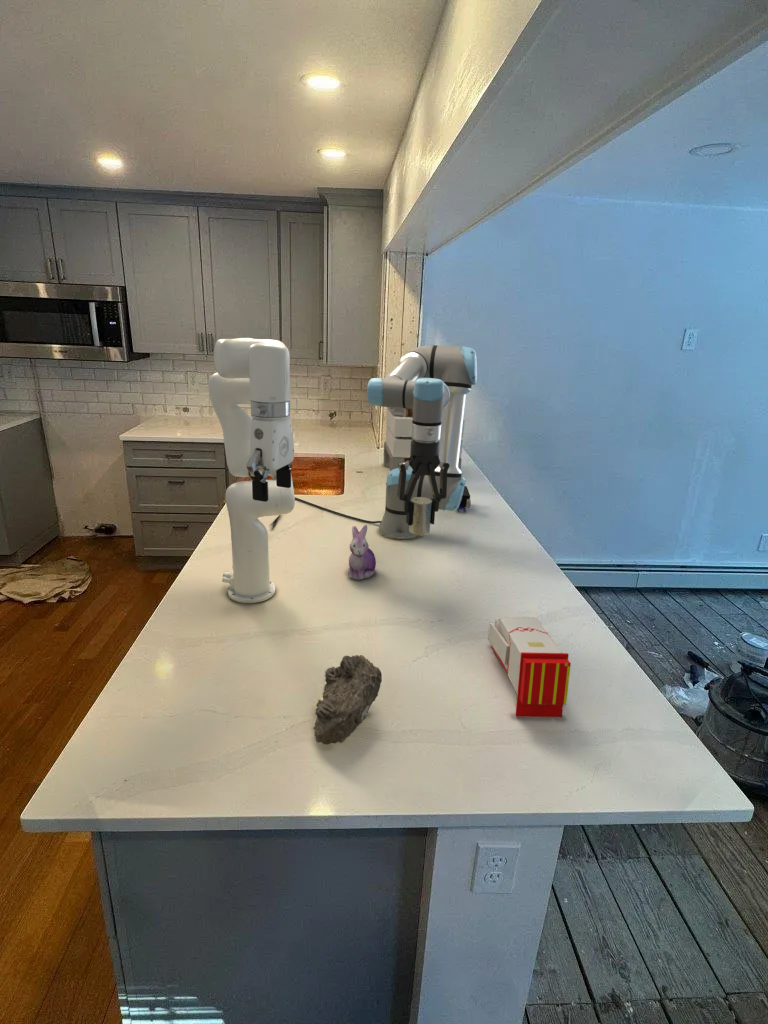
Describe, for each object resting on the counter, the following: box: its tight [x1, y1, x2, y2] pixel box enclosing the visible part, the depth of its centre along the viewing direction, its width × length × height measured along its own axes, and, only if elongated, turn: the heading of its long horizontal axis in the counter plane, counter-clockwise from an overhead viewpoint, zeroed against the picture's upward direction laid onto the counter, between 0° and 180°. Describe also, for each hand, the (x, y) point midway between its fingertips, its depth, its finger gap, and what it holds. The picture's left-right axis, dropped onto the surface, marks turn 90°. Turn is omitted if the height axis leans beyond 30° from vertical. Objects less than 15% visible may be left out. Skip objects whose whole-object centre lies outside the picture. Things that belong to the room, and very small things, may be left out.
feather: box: [270, 515, 281, 529], centre depth 210 cm, size 2×28×2 cm
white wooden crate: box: [383, 407, 465, 472], centre depth 268 cm, size 34×33×41 cm
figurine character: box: [456, 485, 472, 513], centre depth 228 cm, size 7×8×15 cm
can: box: [409, 497, 432, 536], centre depth 154 cm, size 6×6×9 cm
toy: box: [487, 616, 572, 718], centre depth 123 cm, size 12×13×30 cm
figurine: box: [347, 524, 377, 580], centre depth 166 cm, size 9×10×15 cm
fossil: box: [312, 654, 383, 746], centre depth 110 cm, size 22×10×15 cm
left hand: (272, 493), depth 116 cm, fingers open, 9 cm apart
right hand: (420, 522), depth 155 cm, fingers closed on can, 6 cm apart
